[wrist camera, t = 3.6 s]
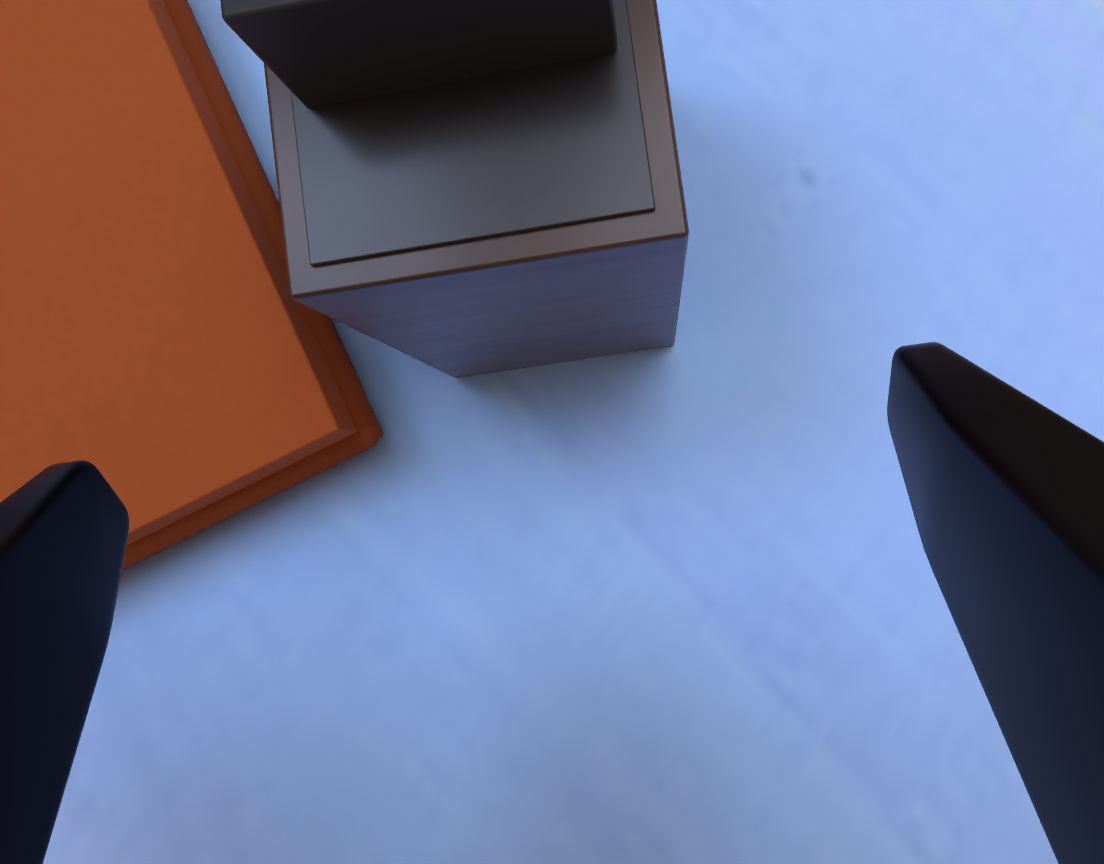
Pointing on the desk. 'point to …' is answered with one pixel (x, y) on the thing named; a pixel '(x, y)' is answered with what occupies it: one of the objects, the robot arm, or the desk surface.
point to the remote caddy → (476, 173)
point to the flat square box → (151, 279)
